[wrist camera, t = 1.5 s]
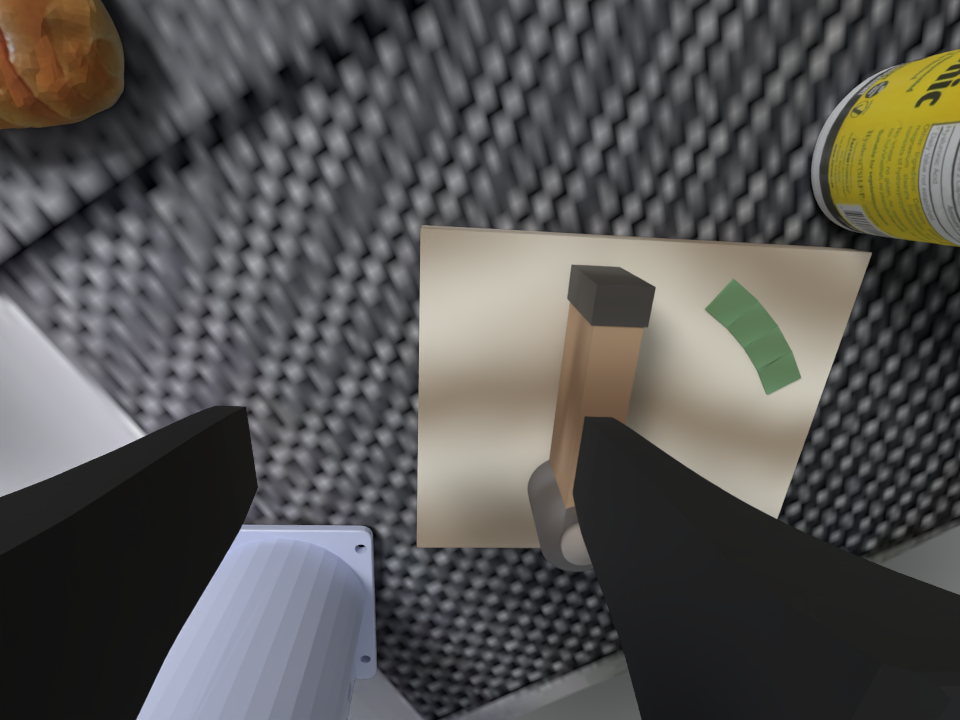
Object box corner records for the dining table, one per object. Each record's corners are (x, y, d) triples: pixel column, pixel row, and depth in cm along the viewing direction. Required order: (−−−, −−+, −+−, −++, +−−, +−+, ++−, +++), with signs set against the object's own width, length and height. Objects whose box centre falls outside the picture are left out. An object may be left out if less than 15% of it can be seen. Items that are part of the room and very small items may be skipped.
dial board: (753, 533, 23) (767, 550, 22) (418, 531, 22) (416, 549, 21) (850, 248, 18) (874, 253, 17) (422, 225, 17) (420, 228, 16)
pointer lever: (593, 515, 20) (620, 580, 17) (523, 514, 20) (537, 580, 17) (638, 267, 16) (683, 290, 13) (552, 263, 16) (577, 286, 13)
